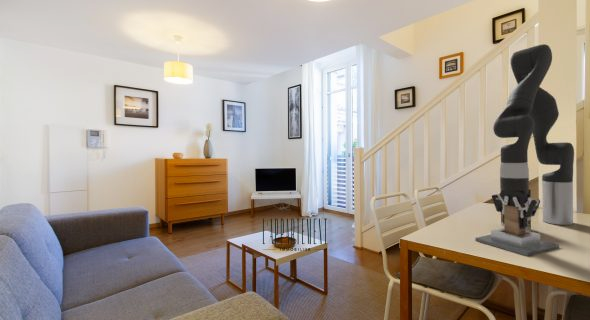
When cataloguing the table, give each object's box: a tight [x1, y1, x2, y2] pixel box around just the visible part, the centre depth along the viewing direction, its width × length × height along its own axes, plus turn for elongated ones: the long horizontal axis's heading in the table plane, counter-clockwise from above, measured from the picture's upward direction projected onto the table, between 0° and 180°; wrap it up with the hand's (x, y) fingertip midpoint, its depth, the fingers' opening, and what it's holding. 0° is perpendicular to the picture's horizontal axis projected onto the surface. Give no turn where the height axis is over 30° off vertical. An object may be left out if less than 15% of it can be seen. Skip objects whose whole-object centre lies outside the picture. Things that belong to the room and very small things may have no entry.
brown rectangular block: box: [503, 205, 525, 236], centre depth 92 cm, size 4×4×10 cm
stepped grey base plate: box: [474, 227, 560, 257], centre depth 92 cm, size 16×16×4 cm
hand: (514, 226), depth 92 cm, fingers closed on brown rectangular block, 4 cm apart
